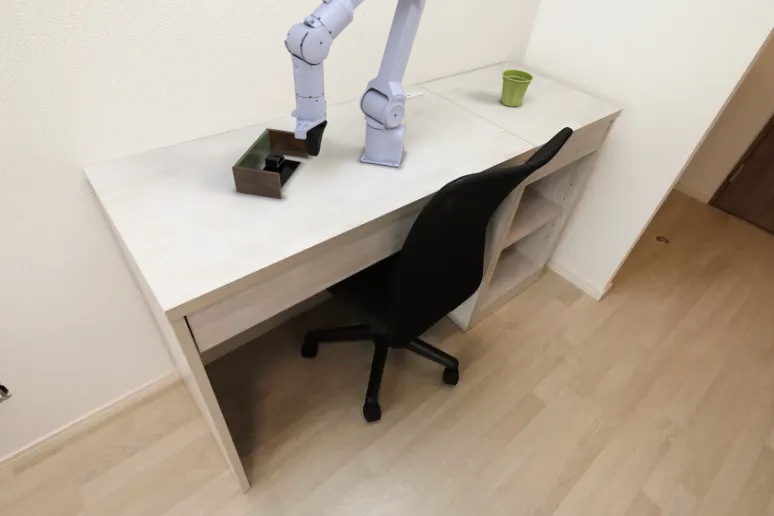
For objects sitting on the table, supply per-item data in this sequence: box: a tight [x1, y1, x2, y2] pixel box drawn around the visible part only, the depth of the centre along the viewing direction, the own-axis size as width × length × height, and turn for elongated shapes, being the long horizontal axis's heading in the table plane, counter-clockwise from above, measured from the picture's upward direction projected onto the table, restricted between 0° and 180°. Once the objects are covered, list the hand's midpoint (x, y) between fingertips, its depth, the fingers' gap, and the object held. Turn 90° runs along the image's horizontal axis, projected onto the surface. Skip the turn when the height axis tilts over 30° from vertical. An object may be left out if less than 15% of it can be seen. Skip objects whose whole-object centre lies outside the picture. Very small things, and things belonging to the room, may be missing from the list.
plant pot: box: [500, 69, 534, 107], centre depth 137 cm, size 9×9×9 cm
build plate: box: [261, 151, 302, 190], centre depth 100 cm, size 12×7×5 cm, turn 167°
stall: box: [231, 127, 310, 200], centre depth 100 cm, size 10×19×6 cm, turn 169°
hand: (313, 154), depth 96 cm, fingers closed
